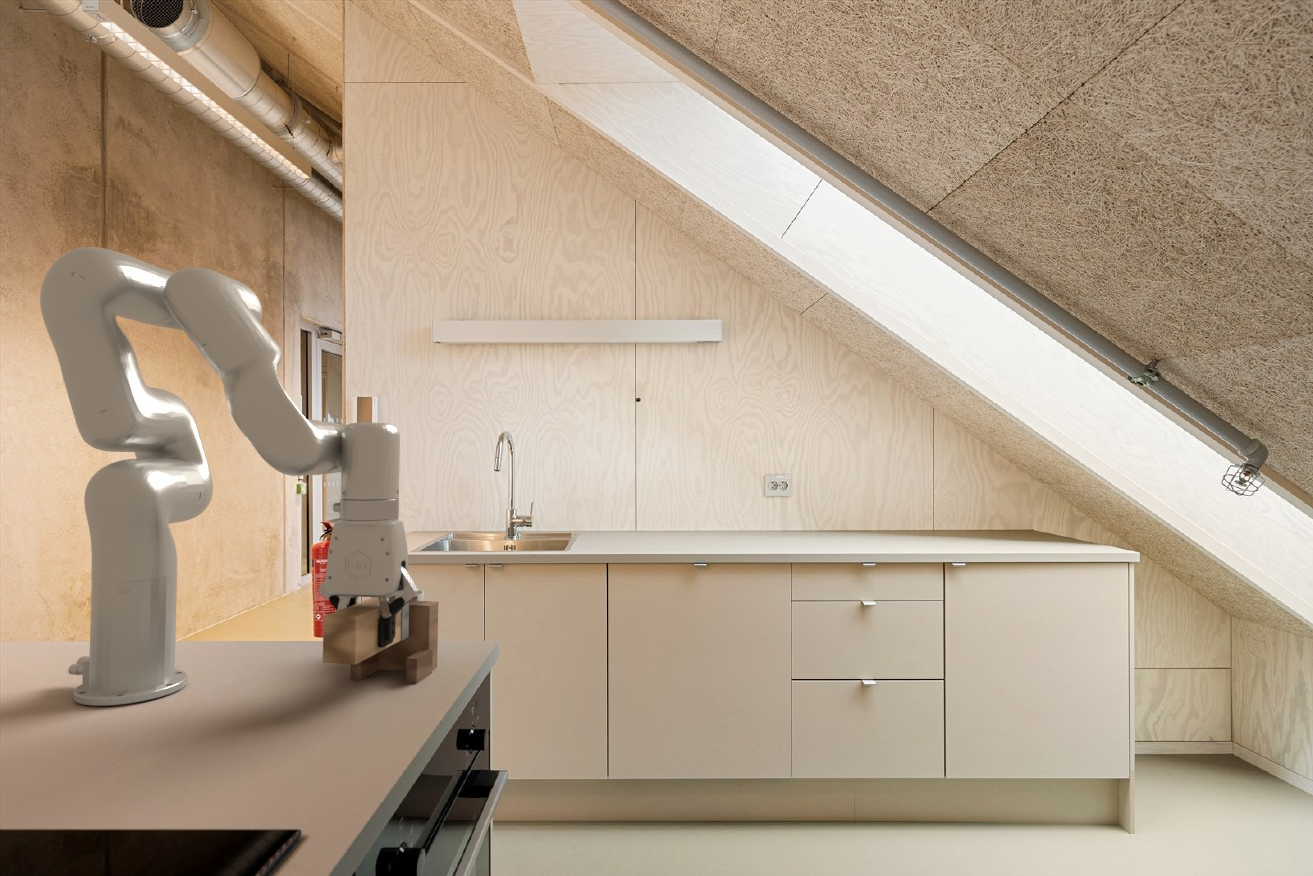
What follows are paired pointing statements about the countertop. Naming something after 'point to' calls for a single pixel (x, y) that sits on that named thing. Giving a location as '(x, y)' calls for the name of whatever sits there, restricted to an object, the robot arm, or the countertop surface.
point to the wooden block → (358, 632)
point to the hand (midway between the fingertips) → (368, 642)
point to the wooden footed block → (408, 647)
